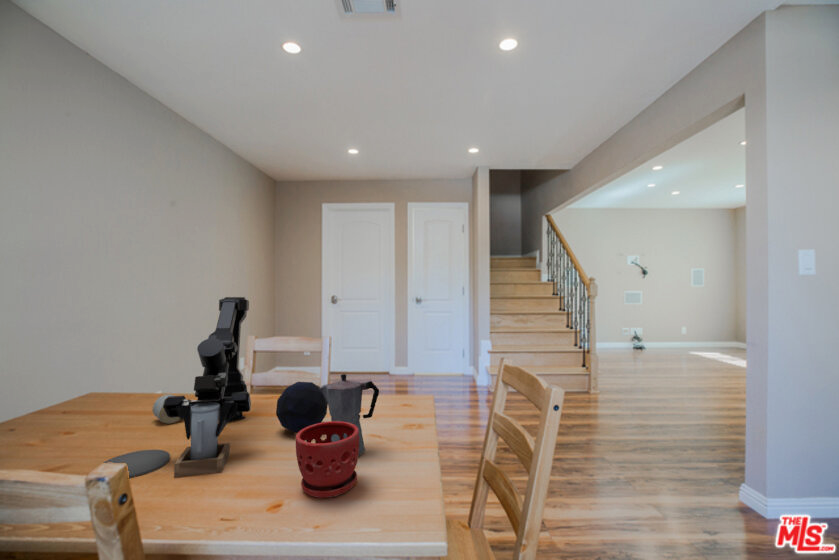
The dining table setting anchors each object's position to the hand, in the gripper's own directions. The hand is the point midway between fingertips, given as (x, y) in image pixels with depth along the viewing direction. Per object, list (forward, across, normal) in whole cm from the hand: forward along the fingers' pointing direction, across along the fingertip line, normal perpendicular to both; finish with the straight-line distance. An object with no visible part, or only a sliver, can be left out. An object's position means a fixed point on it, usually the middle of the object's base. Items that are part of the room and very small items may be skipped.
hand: (202, 437), depth 92 cm
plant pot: (+17, +28, -6) cm, 33 cm away
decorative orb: (-8, +22, +18) cm, 30 cm away
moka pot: (+5, +34, +5) cm, 35 cm away
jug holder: (+4, 0, +6) cm, 7 cm away
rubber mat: (+1, -16, +9) cm, 18 cm away
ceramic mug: (-22, -17, +33) cm, 43 cm away
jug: (+4, 0, +6) cm, 7 cm away
